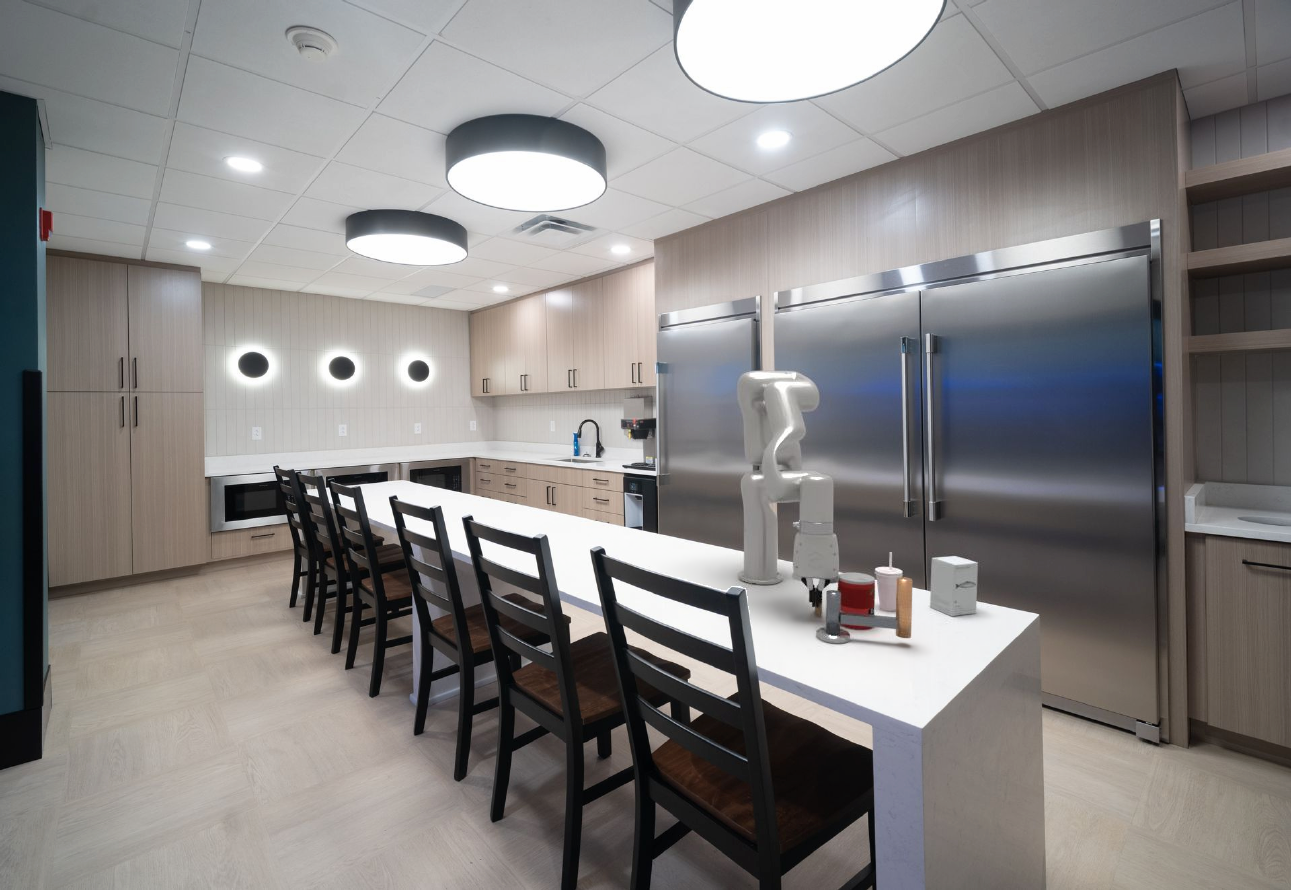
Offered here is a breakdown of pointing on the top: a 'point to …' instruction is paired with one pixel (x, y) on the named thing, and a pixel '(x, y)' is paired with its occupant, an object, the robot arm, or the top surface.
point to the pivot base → (833, 636)
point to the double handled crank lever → (899, 622)
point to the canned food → (857, 595)
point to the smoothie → (887, 585)
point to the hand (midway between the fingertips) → (815, 605)
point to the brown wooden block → (818, 610)
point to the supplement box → (953, 585)
